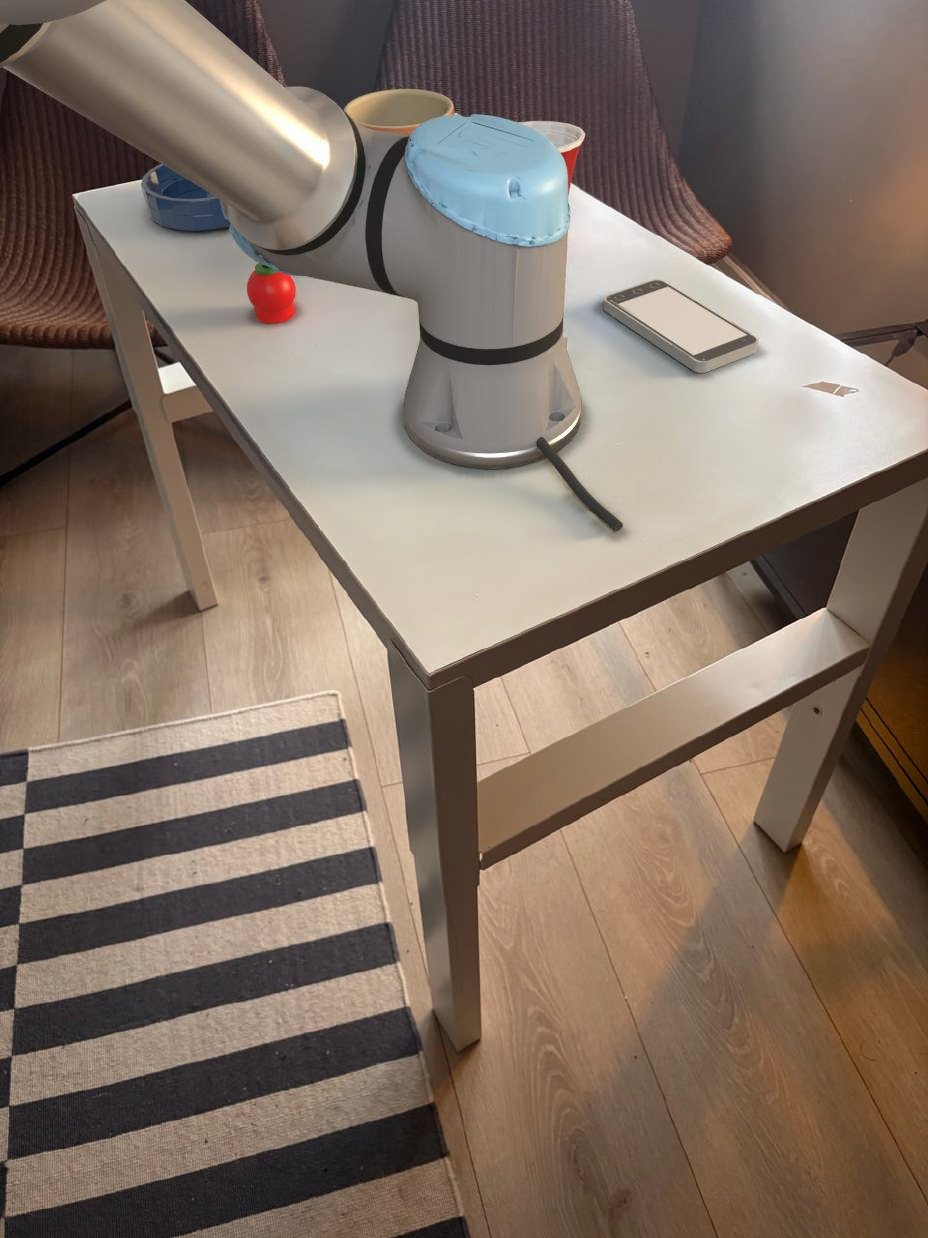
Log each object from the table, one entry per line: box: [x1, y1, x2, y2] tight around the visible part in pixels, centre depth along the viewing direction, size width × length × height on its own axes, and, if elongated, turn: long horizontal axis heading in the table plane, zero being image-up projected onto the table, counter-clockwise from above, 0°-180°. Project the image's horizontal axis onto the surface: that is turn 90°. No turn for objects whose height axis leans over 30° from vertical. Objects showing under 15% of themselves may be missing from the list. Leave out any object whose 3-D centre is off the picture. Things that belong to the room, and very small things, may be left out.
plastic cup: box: [517, 120, 586, 197], centre depth 107 cm, size 11×11×12 cm
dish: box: [140, 163, 231, 232], centre depth 119 cm, size 14×14×4 cm
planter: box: [343, 88, 456, 135], centre depth 116 cm, size 12×12×11 cm
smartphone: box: [603, 278, 759, 374], centre depth 97 cm, size 7×1×15 cm
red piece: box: [246, 262, 297, 325], centre depth 97 cm, size 5×5×15 cm
